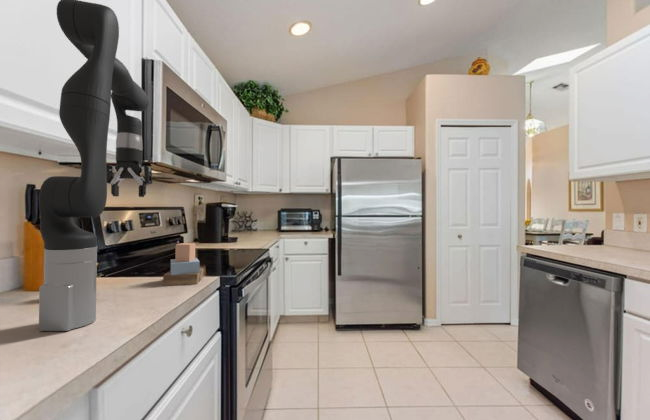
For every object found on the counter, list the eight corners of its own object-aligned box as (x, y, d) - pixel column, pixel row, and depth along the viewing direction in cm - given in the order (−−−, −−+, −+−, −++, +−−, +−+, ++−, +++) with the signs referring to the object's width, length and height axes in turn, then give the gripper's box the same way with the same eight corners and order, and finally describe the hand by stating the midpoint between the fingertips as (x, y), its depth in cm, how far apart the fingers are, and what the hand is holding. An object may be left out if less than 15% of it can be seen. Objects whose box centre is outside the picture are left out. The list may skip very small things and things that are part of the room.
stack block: (189, 261, 109) (189, 244, 109) (175, 261, 109) (175, 244, 109) (195, 259, 114) (195, 243, 114) (181, 259, 114) (182, 243, 114)
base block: (197, 285, 107) (197, 274, 107) (163, 286, 105) (163, 275, 105) (203, 278, 118) (203, 268, 118) (172, 279, 116) (173, 268, 116)
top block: (199, 272, 109) (199, 261, 109) (171, 275, 105) (171, 263, 105) (196, 268, 117) (197, 258, 117) (170, 270, 113) (170, 259, 113)
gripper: (99, 145, 99) (99, 195, 99) (144, 146, 99) (143, 196, 99) (115, 150, 107) (114, 196, 107) (156, 151, 107) (155, 197, 107)
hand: (128, 196), depth 103 cm, fingers open, 8 cm apart
